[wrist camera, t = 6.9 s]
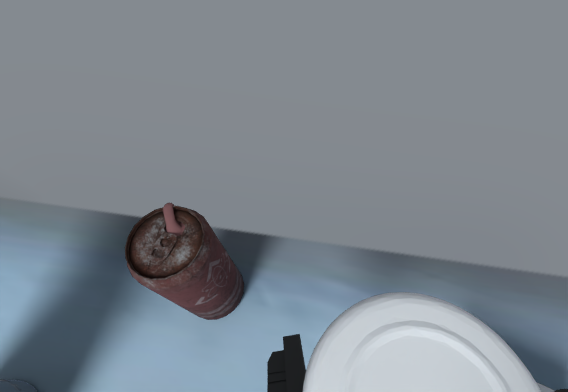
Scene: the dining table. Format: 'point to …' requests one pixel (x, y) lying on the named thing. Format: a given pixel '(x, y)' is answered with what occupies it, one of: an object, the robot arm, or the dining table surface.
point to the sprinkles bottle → (413, 350)
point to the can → (184, 262)
